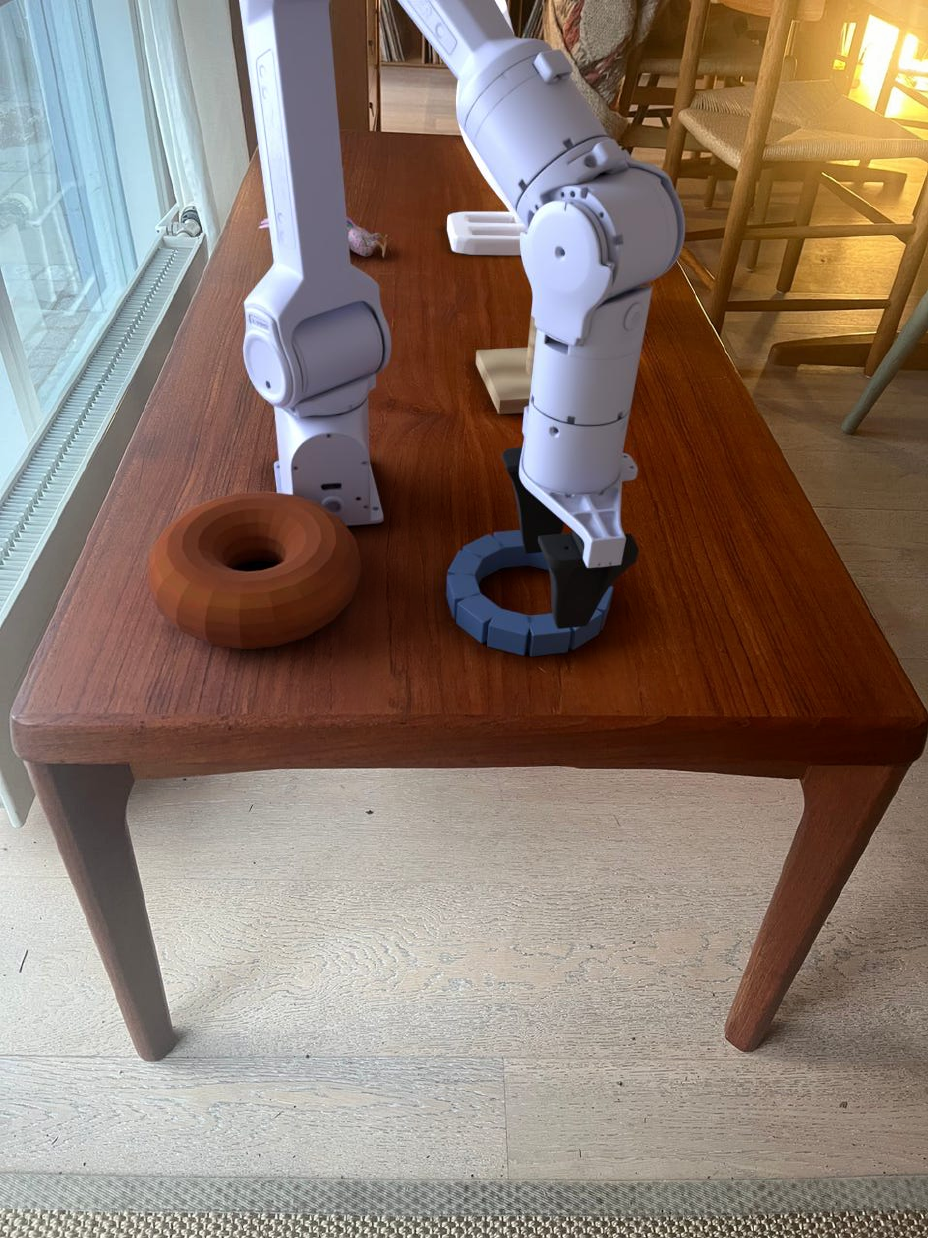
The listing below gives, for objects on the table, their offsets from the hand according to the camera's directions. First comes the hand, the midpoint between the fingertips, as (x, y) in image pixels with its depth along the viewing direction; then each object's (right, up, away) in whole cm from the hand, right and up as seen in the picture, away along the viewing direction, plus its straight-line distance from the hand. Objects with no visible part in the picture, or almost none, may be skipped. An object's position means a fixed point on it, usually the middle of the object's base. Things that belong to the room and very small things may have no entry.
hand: (554, 585), depth 64 cm
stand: (+1, +21, +31) cm, 37 cm away
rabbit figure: (-23, +42, +53) cm, 72 cm away
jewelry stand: (-1, +49, +63) cm, 80 cm away
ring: (-1, -1, +7) cm, 7 cm away
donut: (-21, -1, +6) cm, 22 cm away
